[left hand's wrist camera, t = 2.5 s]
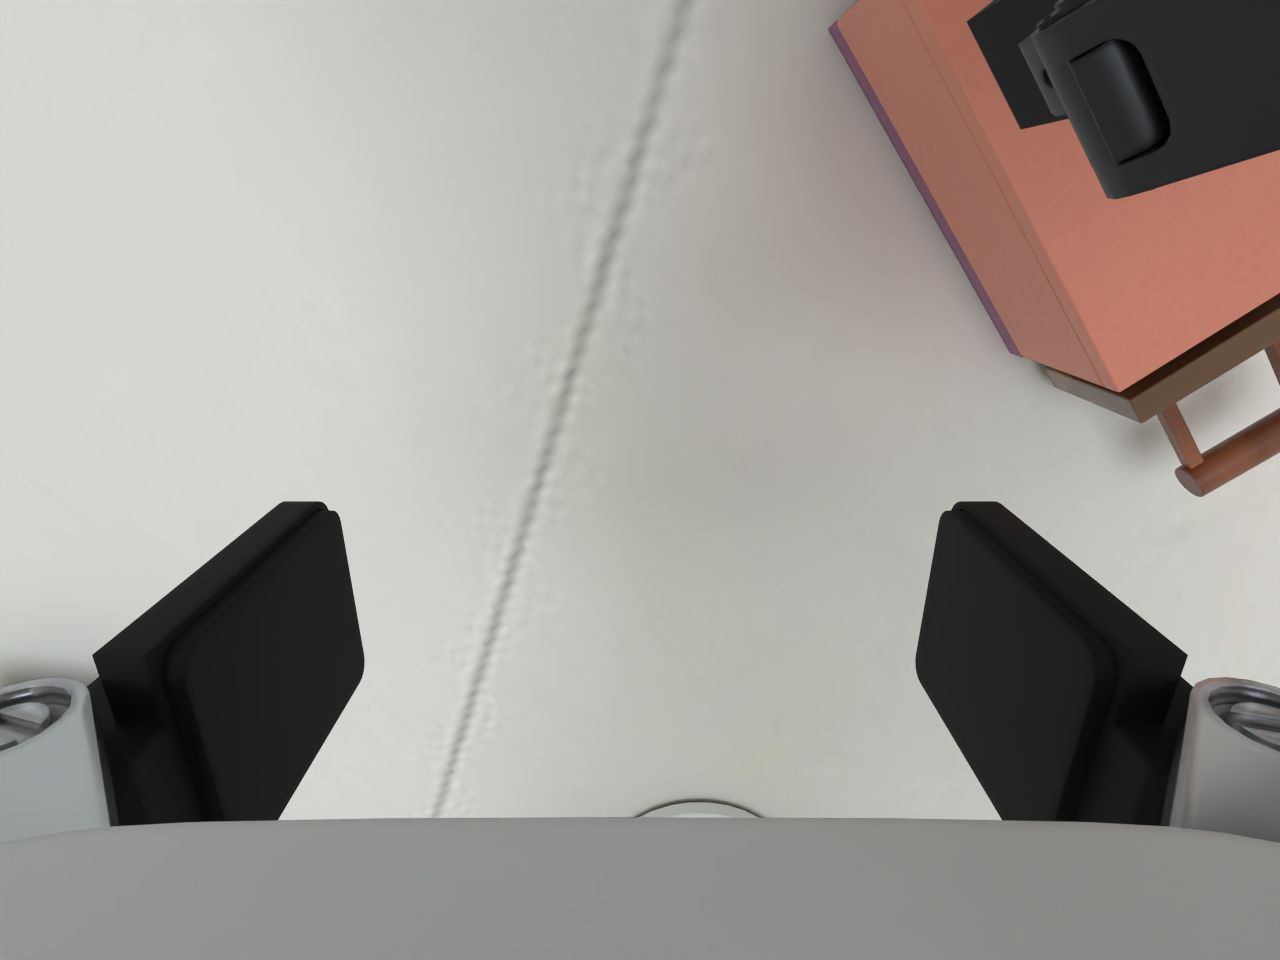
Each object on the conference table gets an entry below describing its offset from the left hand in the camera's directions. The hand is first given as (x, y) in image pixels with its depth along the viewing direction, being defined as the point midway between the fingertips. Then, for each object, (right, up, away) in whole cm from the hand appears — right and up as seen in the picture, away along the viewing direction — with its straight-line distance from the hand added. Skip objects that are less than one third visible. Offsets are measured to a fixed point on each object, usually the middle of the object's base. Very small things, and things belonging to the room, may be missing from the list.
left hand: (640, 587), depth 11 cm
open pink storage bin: (+17, +17, +19) cm, 30 cm away
